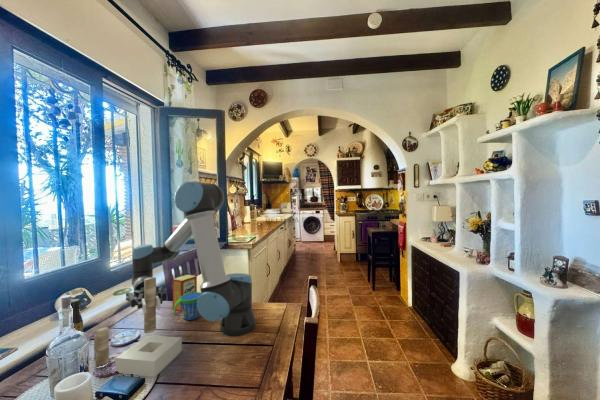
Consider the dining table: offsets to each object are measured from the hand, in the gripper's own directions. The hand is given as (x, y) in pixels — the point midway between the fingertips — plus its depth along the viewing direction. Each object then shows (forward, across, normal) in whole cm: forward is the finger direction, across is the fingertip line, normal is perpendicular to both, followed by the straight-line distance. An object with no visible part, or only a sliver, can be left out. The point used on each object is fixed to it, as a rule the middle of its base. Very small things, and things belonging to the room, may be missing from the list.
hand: (152, 307), depth 83 cm
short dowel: (-19, +14, -21) cm, 32 cm away
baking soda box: (-46, -20, -21) cm, 55 cm away
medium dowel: (-13, +13, -21) cm, 28 cm away
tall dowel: (-5, 0, -10) cm, 11 cm away
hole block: (-5, 0, -21) cm, 21 cm away
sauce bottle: (-26, +22, -21) cm, 41 cm away
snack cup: (-32, -20, -21) cm, 43 cm away
